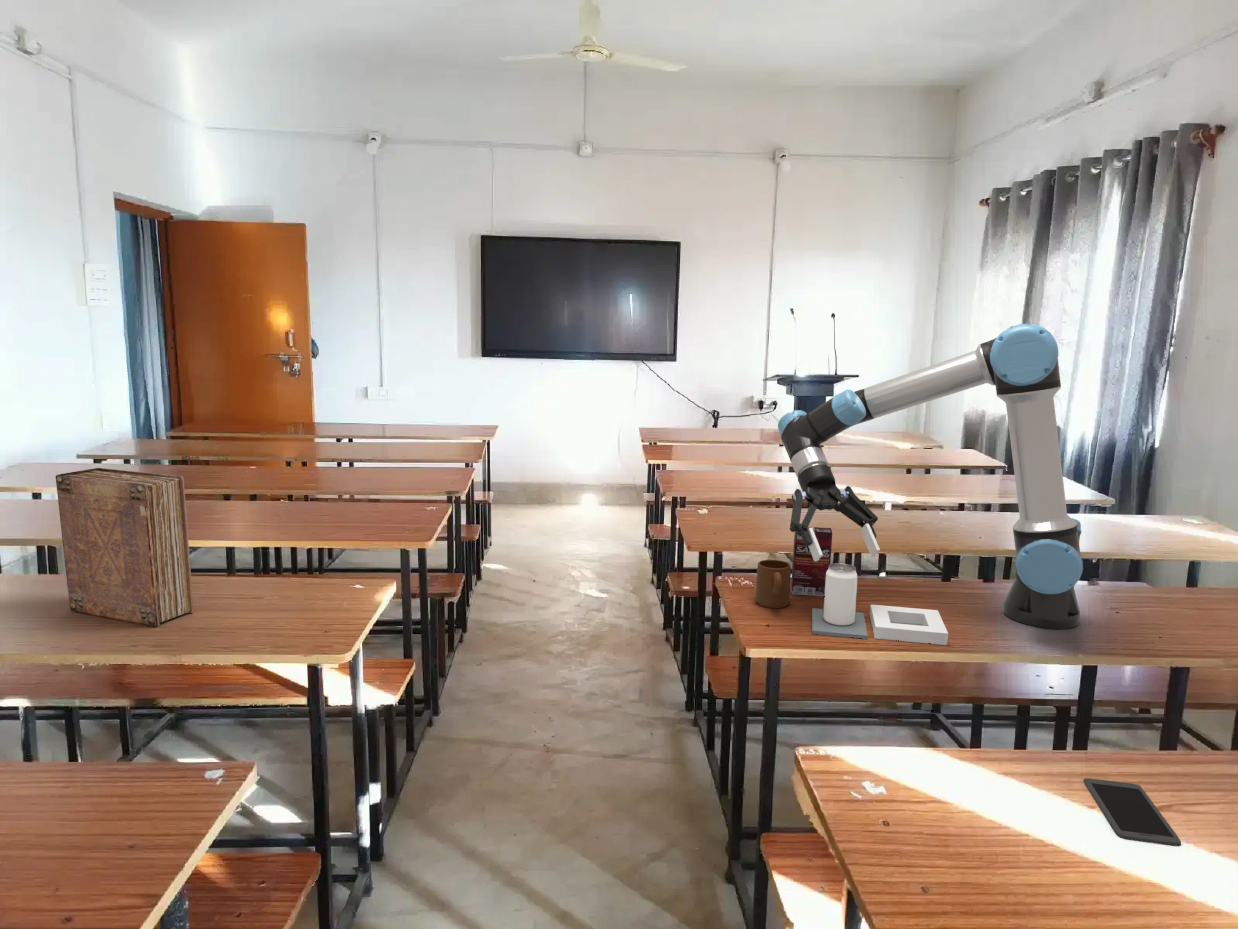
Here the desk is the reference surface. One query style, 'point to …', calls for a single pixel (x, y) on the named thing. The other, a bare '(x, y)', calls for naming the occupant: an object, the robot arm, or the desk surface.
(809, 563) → the supplement box
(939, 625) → the can holder
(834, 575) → the can
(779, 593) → the mug
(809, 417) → the robot arm
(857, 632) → the mat
